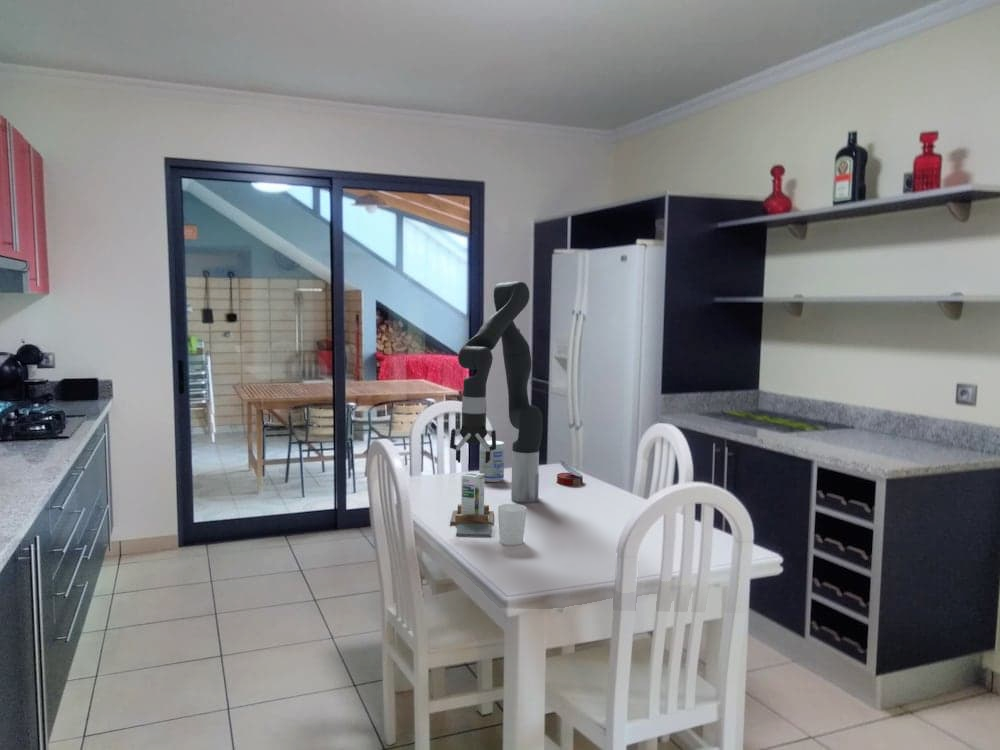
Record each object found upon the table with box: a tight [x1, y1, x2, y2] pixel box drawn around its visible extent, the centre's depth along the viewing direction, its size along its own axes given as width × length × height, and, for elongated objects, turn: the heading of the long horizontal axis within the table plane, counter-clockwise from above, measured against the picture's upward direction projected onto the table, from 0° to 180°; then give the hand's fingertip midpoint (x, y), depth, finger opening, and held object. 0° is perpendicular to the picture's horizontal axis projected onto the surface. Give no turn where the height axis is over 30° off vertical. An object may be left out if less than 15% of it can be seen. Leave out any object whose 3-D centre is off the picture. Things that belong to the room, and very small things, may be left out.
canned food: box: [556, 460, 584, 487], centre depth 278 cm, size 11×10×10 cm
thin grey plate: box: [455, 523, 492, 538], centre depth 215 cm, size 10×10×1 cm
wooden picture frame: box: [449, 503, 495, 527], centre depth 227 cm, size 13×12×3 cm
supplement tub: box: [478, 440, 505, 483], centre depth 280 cm, size 10×10×15 cm
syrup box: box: [460, 471, 486, 515], centre depth 227 cm, size 6×6×14 cm
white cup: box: [497, 503, 527, 546], centre depth 206 cm, size 8×8×10 cm
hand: (472, 462), depth 226 cm, fingers open, 8 cm apart
